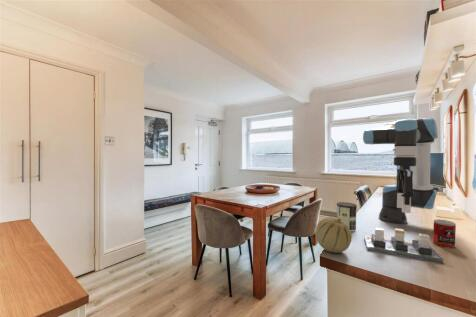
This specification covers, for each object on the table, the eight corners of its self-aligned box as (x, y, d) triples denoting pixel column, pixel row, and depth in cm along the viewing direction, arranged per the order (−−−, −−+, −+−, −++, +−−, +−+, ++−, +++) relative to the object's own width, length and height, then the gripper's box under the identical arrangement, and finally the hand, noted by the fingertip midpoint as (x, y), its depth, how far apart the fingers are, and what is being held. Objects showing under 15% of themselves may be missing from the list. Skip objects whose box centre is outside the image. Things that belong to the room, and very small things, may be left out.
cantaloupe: (317, 241, 106) (317, 211, 106) (351, 248, 99) (352, 215, 99) (312, 253, 93) (313, 219, 93) (351, 262, 86) (352, 224, 86)
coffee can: (352, 226, 130) (353, 202, 130) (358, 232, 120) (359, 206, 120) (334, 224, 132) (334, 201, 132) (338, 230, 122) (339, 205, 122)
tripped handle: (394, 238, 100) (394, 228, 100) (402, 239, 99) (403, 229, 98) (395, 240, 98) (395, 230, 97) (404, 241, 96) (404, 231, 96)
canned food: (438, 246, 102) (438, 223, 102) (429, 240, 110) (430, 218, 109) (459, 249, 99) (459, 225, 99) (449, 242, 107) (449, 220, 107)
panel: (364, 239, 110) (364, 221, 110) (430, 249, 99) (430, 229, 99) (367, 250, 97) (367, 230, 97) (443, 263, 86) (444, 240, 86)
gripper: (389, 156, 103) (388, 204, 104) (400, 156, 84) (398, 214, 85) (408, 156, 100) (407, 205, 101) (424, 156, 81) (422, 217, 82)
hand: (403, 210), depth 93 cm, fingers open, 8 cm apart
